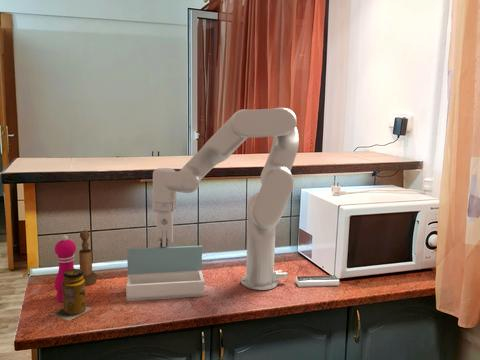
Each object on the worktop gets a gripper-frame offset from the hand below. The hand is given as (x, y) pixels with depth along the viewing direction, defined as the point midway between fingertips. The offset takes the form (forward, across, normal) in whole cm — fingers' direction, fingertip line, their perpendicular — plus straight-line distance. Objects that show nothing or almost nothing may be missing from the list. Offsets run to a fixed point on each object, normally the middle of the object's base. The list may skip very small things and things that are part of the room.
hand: (163, 259), depth 141 cm
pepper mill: (+9, -7, +29) cm, 32 cm away
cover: (-1, -3, 0) cm, 3 cm away
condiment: (+9, -16, +26) cm, 32 cm away
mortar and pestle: (+9, +4, +26) cm, 28 cm away
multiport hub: (+9, -6, -52) cm, 53 cm away
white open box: (+9, -7, -1) cm, 11 cm away
